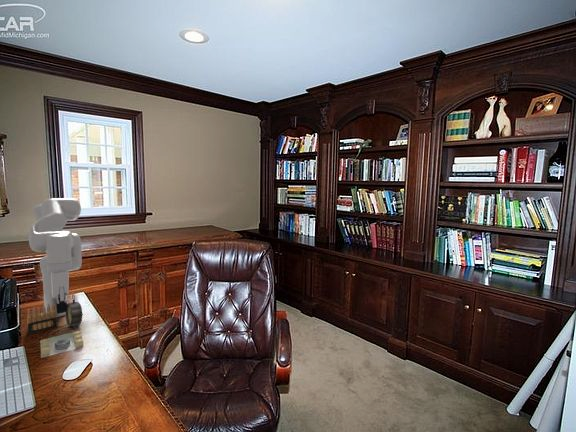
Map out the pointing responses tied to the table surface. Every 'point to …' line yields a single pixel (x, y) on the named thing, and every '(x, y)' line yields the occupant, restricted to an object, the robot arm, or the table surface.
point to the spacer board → (49, 343)
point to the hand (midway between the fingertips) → (62, 311)
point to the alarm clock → (74, 313)
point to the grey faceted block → (62, 344)
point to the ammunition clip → (41, 319)
